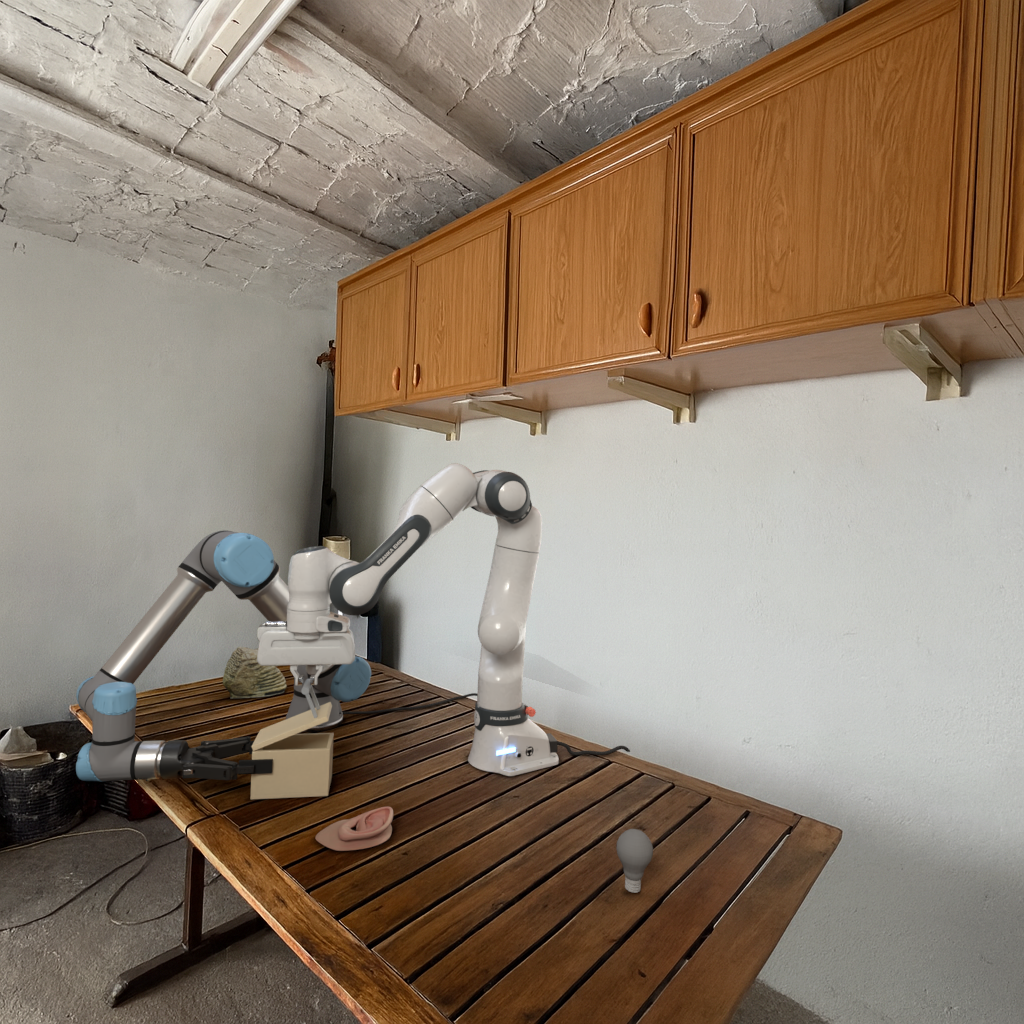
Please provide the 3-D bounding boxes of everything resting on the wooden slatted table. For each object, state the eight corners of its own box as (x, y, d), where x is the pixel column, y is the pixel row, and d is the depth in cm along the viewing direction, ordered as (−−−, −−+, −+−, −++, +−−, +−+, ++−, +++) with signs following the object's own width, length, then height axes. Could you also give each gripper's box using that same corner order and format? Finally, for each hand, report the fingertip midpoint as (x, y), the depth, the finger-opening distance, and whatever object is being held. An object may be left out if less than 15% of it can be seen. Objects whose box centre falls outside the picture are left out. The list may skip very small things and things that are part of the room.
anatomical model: (307, 824, 115) (337, 795, 126) (306, 846, 115) (336, 815, 126) (376, 835, 112) (400, 805, 123) (375, 857, 112) (399, 825, 123)
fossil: (218, 695, 195) (220, 647, 195) (278, 685, 208) (279, 640, 207) (228, 703, 189) (230, 653, 188) (289, 692, 201) (290, 645, 201)
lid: (332, 706, 143) (319, 672, 143) (328, 720, 134) (314, 685, 133) (262, 734, 140) (248, 700, 140) (253, 751, 131) (238, 715, 130)
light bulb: (610, 879, 108) (613, 822, 108) (644, 879, 109) (647, 822, 109) (619, 902, 102) (622, 840, 102) (655, 901, 103) (658, 840, 103)
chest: (331, 776, 144) (333, 732, 143) (328, 796, 134) (330, 749, 134) (259, 779, 141) (261, 734, 140) (250, 799, 131) (252, 751, 131)
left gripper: (180, 755, 143) (284, 752, 148) (143, 802, 121) (266, 797, 126) (181, 723, 143) (285, 720, 147) (144, 764, 121) (267, 760, 126)
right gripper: (254, 624, 132) (252, 690, 132) (355, 623, 136) (353, 687, 136) (260, 618, 138) (258, 681, 138) (356, 618, 142) (354, 679, 142)
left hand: (276, 756), depth 137 cm, fingers closed on chest, 10 cm apart
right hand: (306, 684), depth 137 cm, fingers closed
